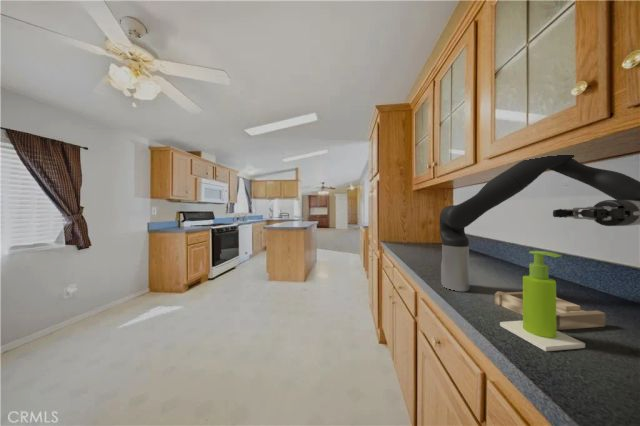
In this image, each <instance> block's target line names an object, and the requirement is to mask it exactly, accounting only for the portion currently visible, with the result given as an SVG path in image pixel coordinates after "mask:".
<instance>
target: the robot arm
mask: <svg viewBox="0 0 640 426" xmlns="http://www.w3.org/2000/svg"><path fill="white" fill-rule="evenodd" d="M572 158H573V159H572ZM574 158H575V156H574V155H557V156H547V157H541V158H535V159H529V160H524V159H523V160H521V161H519V162H517V163H516V164H514V165H513V166H511V167H509V168H508V169H506V170H505V171H502V172H501V173H500V174H498V175H497V176H494V177H493V178H492V179H490V180H489V181H488V182H487V183H485V185H483V186H482V188H481V189H480V190H479V191H478V192H477V193H476V194H475V195H473V196H472V197H470V198H468V199H466V200H464V201H463V202H461V203H458V204H454V205H449V206H448V205H447V206H444V208H443V209H442V210H441V211H440V213H439V235H440V238H441V251H442V252H441V255H442V256H441V258H442V259H441V262H440V283H441V284H440V285H443V286H442V287H443V288H444V287H445V288H444V289H446V288H447V289H446V290H449V289H451V290H450V291H453V290H455V292H469V290H470V251H469V250H470V239H469V238H468V237H467V235H466V232H465V231H466V230H465V228H466V227H468V226H470V225H471V224H472V223H473V222H475V221H476V220H478V219H479V218H480V217H481V216H483V215H484V214H485V213H486V212H489V211H490V210H491V209H494V208H495V207H497V206H499V205H500V204H502V203H503V202H505V201H507V200H509V199H510V198H512V197H515V196H516V195H517V194H519V193H520V192H521V191H523V190H524V189H525V188H527V187H528V186H530V185H531V184H532V183H534V181H536V180H537V179H538V178H539V177H540V176H541V175H542V174H543V173H544V172H546V171H547V170H551V171H553V172H555V173H558V174H561V175H562V176H565V177H568V178H571V179H573V180H576V181H578V182H580V183H583V184H585V185H588V186H590V187H591V188H594V189H596V190H597V191H599V192H602V193H603V194H605V195H607V196H609V197H610V198H613V199H607V200H602V201H598V202H597V203H595V204H594V205H593V206H586V207H573V208H571V209H570V208H564V209H562V208H558V209H554V210H552V217H554V218H561V219H562V218H564V219H565V218H566V219H567V218H572V219H574V220H588V221H594V222H595V223H597V224H599V225H600V226H601V225H602V226H605V227H625V226H627V227H629V226H637V225H640V180H638V179H635V178H633V177H631V176H630V175H627V174H624V173H621V172H618V171H616V170H615V171H614V170H609V169H605V168H604V169H603V168H597V167H593V166H589V165H585V164H583V163H582V162H579V161H577V160H576V159H574ZM580 210H581V211H580ZM580 215H581V216H580Z"/></svg>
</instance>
